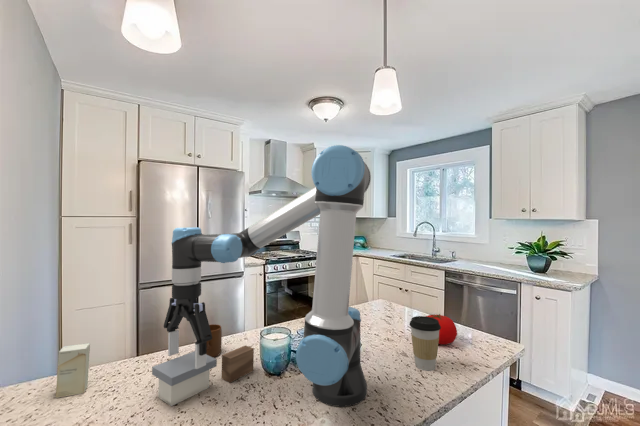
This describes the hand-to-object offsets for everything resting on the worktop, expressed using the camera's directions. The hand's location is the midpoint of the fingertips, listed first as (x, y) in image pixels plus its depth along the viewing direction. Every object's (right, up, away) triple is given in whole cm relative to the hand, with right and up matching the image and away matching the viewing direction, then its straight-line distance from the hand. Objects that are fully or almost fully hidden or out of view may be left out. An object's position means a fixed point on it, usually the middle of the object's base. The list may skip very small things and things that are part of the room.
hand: (186, 360), depth 83 cm
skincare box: (-31, -9, 0) cm, 32 cm away
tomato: (+84, -11, +36) cm, 92 cm away
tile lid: (0, -3, 0) cm, 3 cm away
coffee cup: (+71, -10, +16) cm, 74 cm away
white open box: (0, -9, 0) cm, 9 cm away
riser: (+12, -9, +10) cm, 18 cm away
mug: (-2, -10, +22) cm, 24 cm away
